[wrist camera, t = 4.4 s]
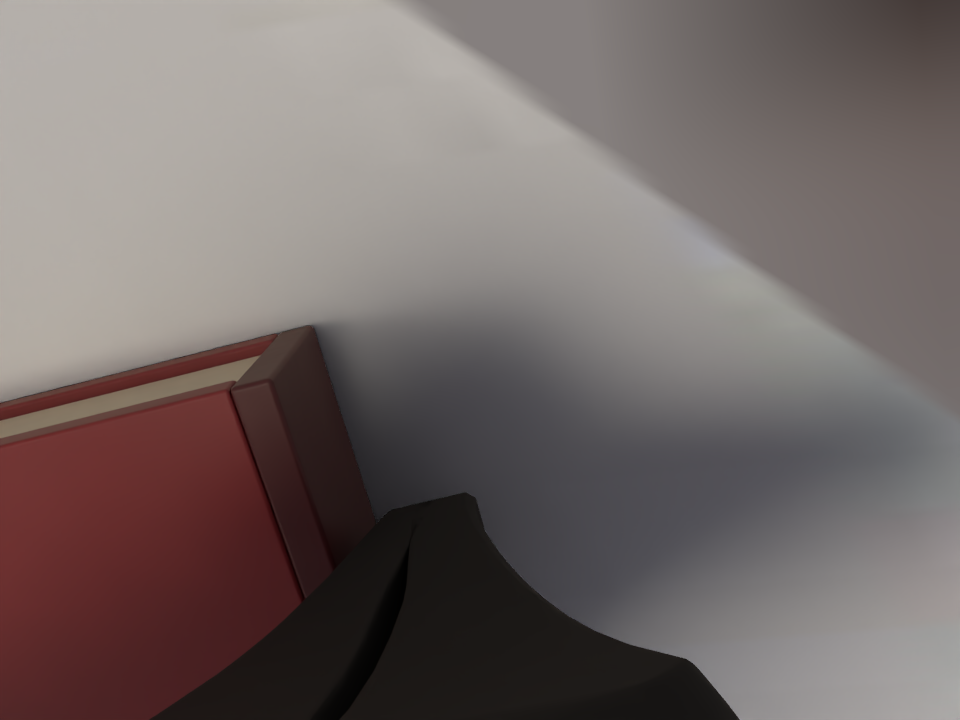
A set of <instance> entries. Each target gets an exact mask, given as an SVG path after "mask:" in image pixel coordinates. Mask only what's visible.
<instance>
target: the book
mask: <svg viewBox="0 0 960 720" xmlns="http://www.w3.org/2000/svg"><path fill="white" fill-rule="evenodd" d="M375 525H376V521H375V518H374V514H373V511H372V508H371V505H370V502H369V499H368V496H367V493H366V490H365V487H364V483H363V480H362V477H361V474H360V471H359V468H358V465H357V462H356V459H355V455H354V452H353V449H352V446H351V443H350V440H349V437H348V434H347V431H346V427H345V424H344V421H343V418H342V415H341V412H340V409H339V406H338V403H337V399H336V396H335V393H334V390H333V387H332V384H331V381H330V378H329V375H328V371H327V368H326V365H325V362H324V359H323V356H322V353H321V350H320V347H319V343H318V340H317V337H316V334H315V331H314V328H313V327H312V326H305V327H301V328H297V329H293V330H289V331H285V332H282V333H280V334H279V335H277V334H272V335H268V336H264V337H260V338H256V339H253V340H249V341H245V342H241V343H237V344H233V345H229V346H225V347H221V348H217V349H213V350H209V351H205V352H201V353H197V354H193V355H189V356H185V357H181V358H177V359H174V360H170V361H166V362H162V363H158V364H154V365H150V366H146V367H142V368H138V369H134V370H130V371H126V372H122V373H118V374H114V375H110V376H106V377H102V378H98V379H94V380H91V381H87V382H83V383H79V384H75V385H71V386H67V387H63V388H59V389H55V390H51V391H47V392H43V393H39V394H35V395H31V396H27V397H23V398H19V399H15V400H11V401H8V402H4V403H0V720H149V719H151V718H152V717H154V716H155V715H157V714H159V713H160V712H162V711H163V710H165V709H166V708H168V707H169V706H170V705H172V704H173V703H175V702H176V701H178V700H179V699H181V698H182V697H184V696H185V695H187V694H188V693H190V692H191V691H193V690H194V689H196V688H197V687H199V686H200V685H202V684H203V683H205V682H206V681H208V680H209V679H211V678H212V677H214V676H215V675H217V674H218V673H219V672H221V671H222V670H223V669H225V668H226V667H227V666H229V665H230V664H231V663H233V662H234V661H235V660H236V659H238V658H239V657H240V656H241V655H243V654H244V653H245V652H247V651H248V650H249V649H250V648H252V647H253V646H254V645H255V644H257V643H258V642H259V641H260V640H261V639H263V638H264V637H265V636H266V635H267V634H268V633H270V632H271V631H272V630H273V629H274V628H275V627H277V626H278V625H279V624H280V623H281V622H282V621H283V620H284V619H285V618H286V617H287V616H288V615H289V614H290V613H292V612H293V611H294V610H295V609H296V608H297V607H298V606H299V605H300V604H301V603H302V602H303V601H304V600H305V599H306V598H307V597H308V596H309V595H310V594H311V593H312V592H313V591H314V590H315V589H316V588H317V587H318V586H319V585H320V584H321V583H322V582H323V581H324V580H325V579H326V578H327V577H328V576H329V575H330V574H331V573H332V572H333V571H334V570H335V569H336V567H337V566H338V565H339V564H340V563H341V562H342V561H343V560H344V559H345V558H346V557H347V556H348V554H349V553H350V552H351V551H352V550H353V549H354V548H355V547H356V546H357V545H358V544H359V542H360V541H361V540H362V539H363V538H364V537H365V536H366V535H367V534H368V532H369V531H370V530H371V529H372V528H373V527H374V526H375Z"/></svg>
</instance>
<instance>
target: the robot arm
mask: <svg viewBox="0 0 960 720" xmlns="http://www.w3.org/2000/svg"><path fill="white" fill-rule="evenodd" d="M149 720H740V719H739V718H738V717H737V716H736V714H735V713H734V712H733V710H732V709H731V708H730V706H729V705H728V704H727V703H726V701H725V700H724V699H723V698H722V696H721V695H720V694H719V693H718V692H717V690H716V689H715V688H714V687H713V686H712V684H711V683H710V682H709V681H708V680H707V678H706V677H705V676H704V675H703V674H702V673H701V672H700V670H699V669H698V668H697V667H696V666H695V665H694V664H693V663H691V662H690V661H688V660H687V659H684V658H680V657H676V656H672V655H668V654H664V653H660V652H656V651H653V650H649V649H645V648H641V647H637V646H633V645H629V644H626V643H624V642H621V641H618V640H616V639H613V638H611V637H608V636H606V635H603V634H601V633H598V632H596V631H594V630H592V629H590V628H588V627H587V626H585V625H583V624H581V623H579V622H578V621H576V620H574V619H572V618H570V617H569V616H567V615H566V614H565V613H563V612H562V611H560V610H559V609H558V608H556V607H555V606H553V605H552V604H551V603H549V602H548V601H547V600H546V599H544V598H543V597H542V596H541V595H540V594H538V593H537V592H536V591H535V590H534V589H533V588H532V587H530V586H529V585H528V584H527V583H526V582H525V581H524V580H523V579H522V578H521V577H520V576H519V575H518V574H517V572H516V571H515V570H514V569H513V568H512V567H511V566H510V565H509V564H508V563H507V561H506V560H505V559H504V558H503V556H502V555H501V554H500V553H499V551H498V550H497V548H496V547H495V546H494V544H493V543H492V541H491V540H490V538H489V537H488V535H487V534H486V532H485V529H484V526H483V522H482V519H481V515H480V512H479V508H478V505H477V501H476V498H475V497H473V496H471V495H470V494H468V493H466V492H464V493H460V494H456V495H452V496H448V497H444V498H439V499H435V500H431V501H427V502H423V503H418V504H414V505H410V506H406V507H402V508H397V509H393V510H391V511H390V512H388V513H387V514H386V515H385V516H384V517H383V518H382V519H381V520H380V521H379V522H378V523H377V524H376V525H375V526H374V527H373V528H372V529H371V530H370V531H369V532H368V534H367V535H366V536H365V537H364V538H363V539H362V540H361V541H360V542H359V544H358V545H357V546H356V547H355V548H354V549H353V550H352V551H351V552H350V553H349V554H348V556H347V557H346V558H345V559H344V560H343V561H342V562H341V563H340V564H339V565H338V566H337V567H336V569H335V570H334V571H333V572H332V573H331V574H330V575H329V576H328V577H327V578H326V579H325V580H324V581H323V582H322V583H321V584H320V585H319V586H318V587H317V588H316V589H315V590H314V591H313V592H312V593H311V594H310V595H309V596H308V597H307V598H306V599H305V600H304V601H303V602H302V603H301V604H300V605H299V606H298V607H297V608H296V609H295V610H294V611H293V612H292V613H290V614H289V615H288V616H287V617H286V618H285V619H284V620H283V621H282V622H281V623H280V624H279V625H278V626H277V627H275V628H274V629H273V630H272V631H271V632H270V633H268V634H267V635H266V636H265V637H264V638H263V639H261V640H260V641H259V642H258V643H257V644H255V645H254V646H253V647H252V648H250V649H249V650H248V651H247V652H245V653H244V654H243V655H241V656H240V657H239V658H238V659H236V660H235V661H234V662H233V663H231V664H230V665H229V666H227V667H226V668H225V669H223V670H222V671H221V672H219V673H218V674H217V675H215V676H214V677H212V678H211V679H209V680H208V681H206V682H205V683H203V684H202V685H200V686H199V687H197V688H196V689H194V690H193V691H191V692H190V693H188V694H187V695H185V696H184V697H182V698H181V699H179V700H178V701H176V702H175V703H173V704H172V705H170V706H169V707H168V708H166V709H165V710H163V711H162V712H160V713H159V714H157V715H155V716H154V717H152V718H151V719H149Z"/></svg>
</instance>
